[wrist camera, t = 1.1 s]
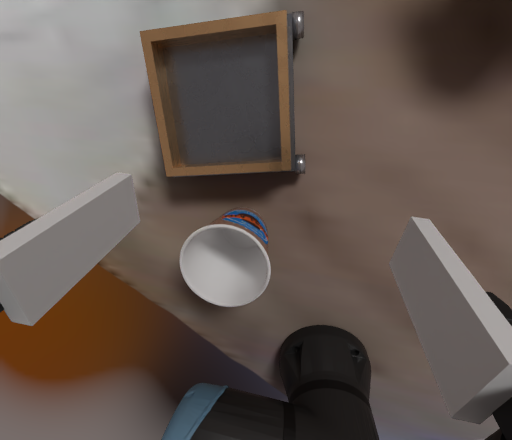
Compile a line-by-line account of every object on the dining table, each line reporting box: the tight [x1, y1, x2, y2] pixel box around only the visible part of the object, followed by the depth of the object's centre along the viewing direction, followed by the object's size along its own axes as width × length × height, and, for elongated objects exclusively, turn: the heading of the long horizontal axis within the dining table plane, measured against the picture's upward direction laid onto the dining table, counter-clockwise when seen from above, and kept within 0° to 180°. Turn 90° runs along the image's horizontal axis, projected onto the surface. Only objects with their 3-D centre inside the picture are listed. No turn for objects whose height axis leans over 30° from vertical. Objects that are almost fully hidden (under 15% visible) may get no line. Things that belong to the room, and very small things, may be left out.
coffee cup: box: [180, 207, 271, 307], centre depth 34 cm, size 10×10×12 cm
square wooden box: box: [140, 10, 305, 177], centre depth 31 cm, size 17×17×6 cm
